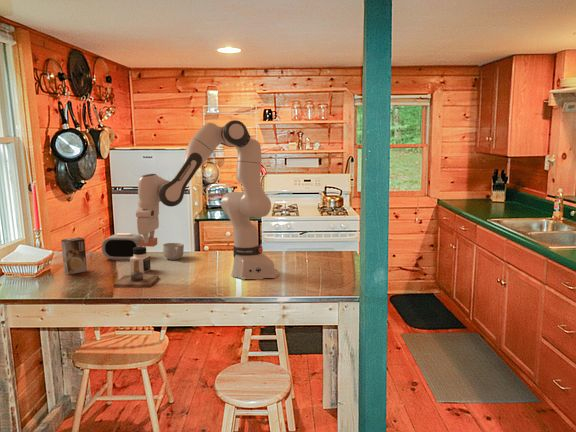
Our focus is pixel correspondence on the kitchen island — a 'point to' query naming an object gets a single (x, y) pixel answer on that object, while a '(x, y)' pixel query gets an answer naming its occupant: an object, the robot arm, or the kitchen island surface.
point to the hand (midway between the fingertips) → (149, 241)
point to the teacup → (173, 250)
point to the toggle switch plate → (136, 278)
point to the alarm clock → (120, 246)
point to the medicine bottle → (140, 259)
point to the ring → (151, 242)
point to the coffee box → (74, 255)
